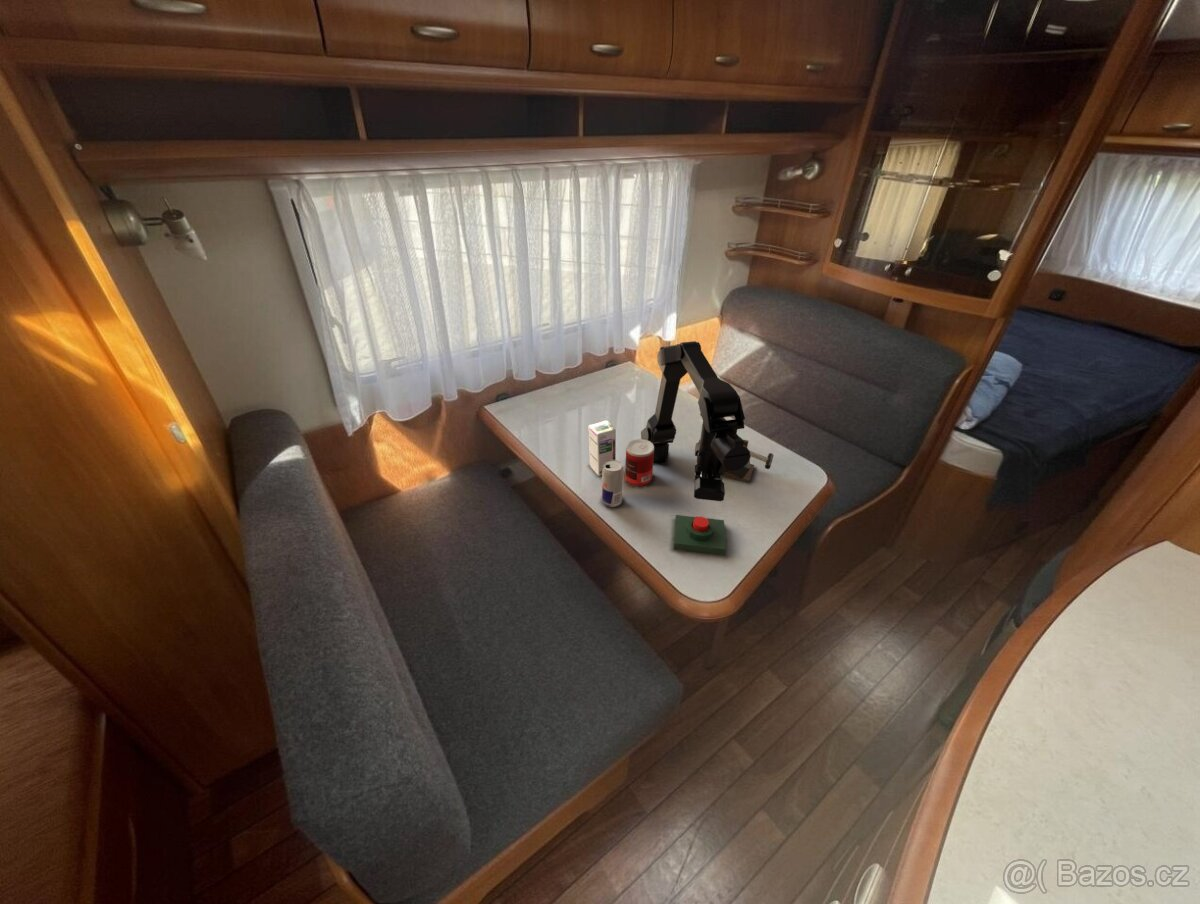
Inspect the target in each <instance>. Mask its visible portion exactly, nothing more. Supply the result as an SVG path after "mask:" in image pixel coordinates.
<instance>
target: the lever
mask: <svg viewBox="0 0 1200 904" xmlns="http://www.w3.org/2000/svg"><path fill="white" fill-rule="evenodd" d="M749 451H750V455H751V457H750V458H754V459H756V460H758V461H761V462H763V463H765V464H764V468H765V469H767V470H769V469H771V466H772V462H773V459H774V453H771V452H770V453H768V454H767V456H764V455H762V454H759V453H757V452H755V451H753V450H749Z"/></svg>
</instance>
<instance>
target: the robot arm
mask: <svg viewBox="0 0 1200 904" xmlns="http://www.w3.org/2000/svg"><path fill="white" fill-rule="evenodd" d="M656 360H657V366H658V368H659V370H660V371H661V379H660V384H659V388H658V396H657V400H656V404H655V411H654V414H652V415H651V416H650V417H649V418H648V419H647V422H646V426H645V427H644V428H643V429H642V430H641V431H640V439H644V440H648V441H650V442H651V443H652V444H653V445H654V461H653V464H657V465H666V464H667V460H668V459H669V451H670V450H669V449H670V444H673V443H674V440H675V439H676V434H677V427H676V425H675V423H674V420H673V414H674V410H675V406H676V401H677V396H678V392H679V387H680V383H681V380H682V379H683V377H685V376H686V375H687V374H688V376H689V377H690V379H691V381H692V383H693V384H694V386H695V388H696V390H697V392H698V394H699V395H698V396H699V397H698V400H697V405H698V407H699V415H700V417H701V419H702V425H701V432H700V437H699V438H700V439H699V440H698V442H696V443H695V447H694V457H696V464H694V474H695V475H694V489H693V498H695V499H696V500H703V501H704V500H705V501H714V502H724V501H725V495H726V490H725V489H726V487H725V482H724V481H723V479H722V476H721V475H725V471H726V472H727V473H730V474H732V475H735V476H737V477H738V478H740V479H743V478H744V477H745V475H746V474H747V472H748V471H749V470H750V468H751V466H750V464H751V458H752V457H751V455H750V451H751V450H750V449H749V448H748V447H746V446H745V445H744V441H743V440H744V439H743V438H742V437H740V436H739V435H738V430H742V429H745V422H744V421H745V420H746V417H745V412H744V409H743V405H742V400H741V397H740V395H739V394H738V391H736V390H735V388H734V387H733V386H732V385H731V384H730V382H727V381H725V380H722V379H720V378H719V376H718V375H717V373H716V371H715V370H714V369H713V367H712V365H711V364H710V361H708V359H707V357H706V356H705V354H704V352H703V350H702V346H701V343H700V342H699V341H696V340H693V341H685V342H679V343H677V344H670V345H662V346H661V347H659V349H658V351H657V353H656ZM730 417H734V419H733V418H732V419H726V418H730Z"/></svg>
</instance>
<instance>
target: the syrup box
mask: <svg viewBox="0 0 1200 904" xmlns="http://www.w3.org/2000/svg"><path fill="white" fill-rule="evenodd" d="M616 432H617V429H616V428H615V427H614V426H613V425H612V424H611V423H610V421H608V420H603V421H601V422H600V421H599V422H597V423H593V424H589V425H588V444H589V445H588V446H589V448H588V449H589V466H590V468H591V469H592V471H594V472H595V474H596V475H597V476H598V477H600V476H602V467H603V464H604V462H606V461H608V460H617V459H616V455H617V454H616V453H617V452H616V450H617V448H616V446H617V445H616V443H617V442H616V439H617V438H616V437H617V434H616Z"/></svg>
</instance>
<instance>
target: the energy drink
mask: <svg viewBox="0 0 1200 904" xmlns="http://www.w3.org/2000/svg"><path fill="white" fill-rule="evenodd" d="M623 485H624V466H623V463H622V462H621V461H619V460H618V459H616V460H608V461H606V462H604V464H603V467H602V475H601V495H602V496H601V501H602V503H603V505H605V506H606V507H609V508H615V507H618V506H620V505H621V504H622V502H623V489H624V487H623Z"/></svg>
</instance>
